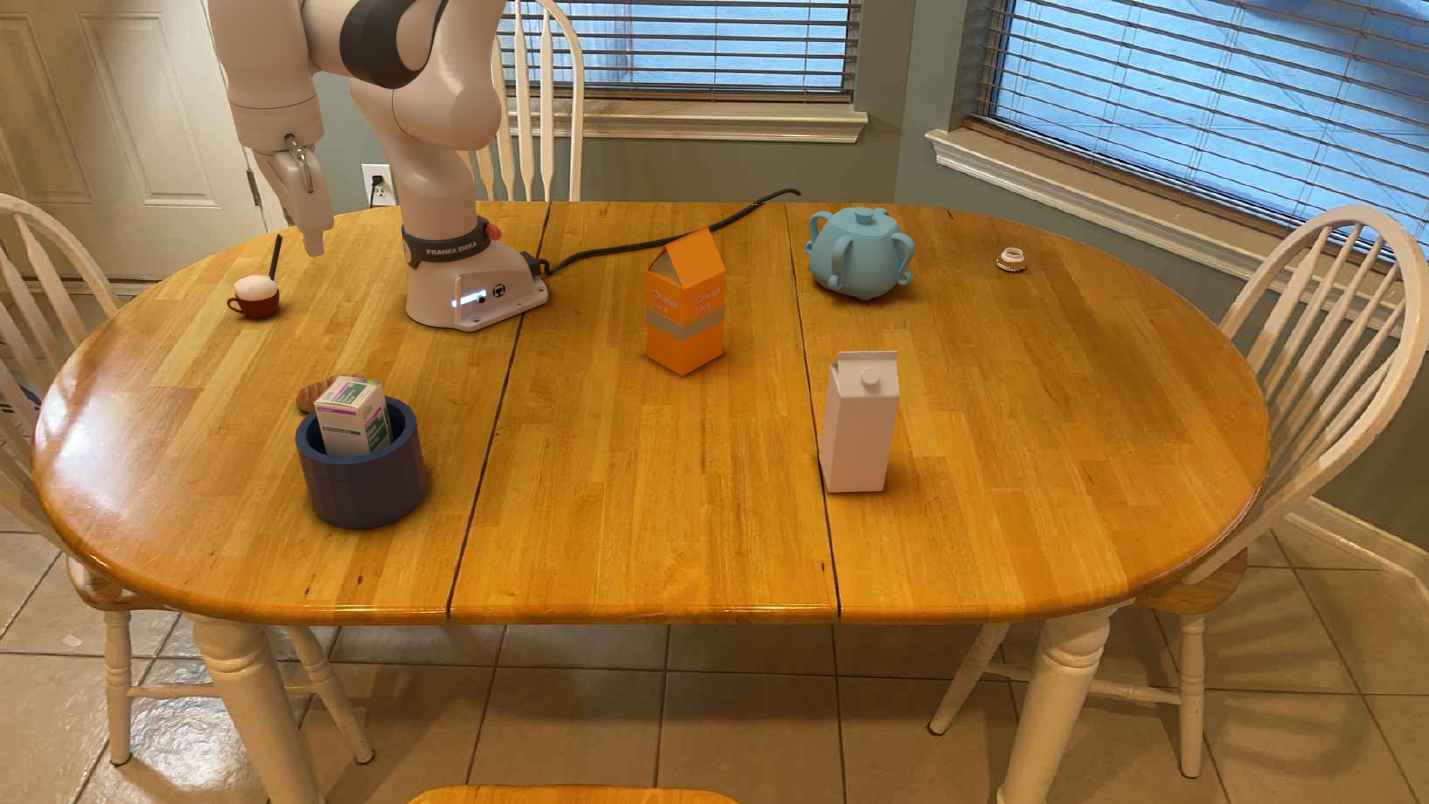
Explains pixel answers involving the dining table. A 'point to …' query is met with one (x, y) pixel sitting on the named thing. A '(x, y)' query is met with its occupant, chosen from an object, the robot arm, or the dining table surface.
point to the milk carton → (859, 420)
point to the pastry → (316, 392)
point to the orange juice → (686, 303)
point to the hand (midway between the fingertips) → (304, 237)
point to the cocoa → (259, 290)
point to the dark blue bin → (364, 474)
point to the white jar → (1011, 258)
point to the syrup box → (353, 417)
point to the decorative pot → (859, 252)
